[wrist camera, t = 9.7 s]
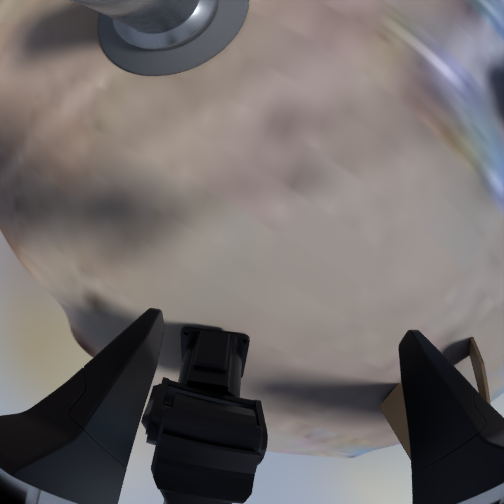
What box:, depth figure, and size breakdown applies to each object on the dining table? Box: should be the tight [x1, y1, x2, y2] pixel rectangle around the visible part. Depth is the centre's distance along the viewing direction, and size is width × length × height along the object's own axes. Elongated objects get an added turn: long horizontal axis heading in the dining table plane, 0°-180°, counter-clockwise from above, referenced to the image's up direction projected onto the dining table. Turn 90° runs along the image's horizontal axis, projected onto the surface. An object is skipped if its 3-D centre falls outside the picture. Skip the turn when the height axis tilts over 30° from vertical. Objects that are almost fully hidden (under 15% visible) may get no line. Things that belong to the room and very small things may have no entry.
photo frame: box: [379, 337, 490, 460], centre depth 21 cm, size 15×22×25 cm
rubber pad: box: [98, 0, 249, 76], centre depth 14 cm, size 11×11×1 cm
